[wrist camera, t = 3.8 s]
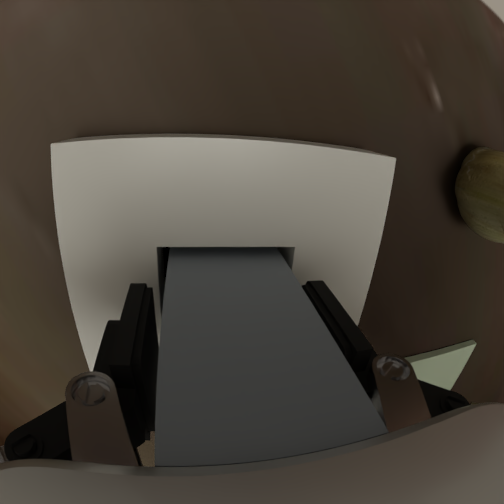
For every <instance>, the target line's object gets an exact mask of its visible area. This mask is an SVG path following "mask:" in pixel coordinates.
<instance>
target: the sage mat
mask: <svg viewBox="0 0 504 504" xmlns="http://www.w3.org/2000/svg"><path fill="white" fill-rule="evenodd" d="M476 344H477V343H476V342H475V341H474V340H473V339H472V340H469V341H466V342H463V343H459V344H456V345H452V346H449V347H445V348H442V349H438V350H434V351H430V352H427V353H423V354H419V355H415V356H410V357H406V358H405V359H406V360H407V361H408V362H409V363H411V365H412V367H413V369H414V371H415V374H416V376H417V379H419V380H421V381H424V382H427V383H430V384H433V385H436V386H439V387H441V388H444V389H447V390H451V388H452V386H453V385H454V383H455V381H456V380H457V378H458V376H459V375H460V373H461V371H462V370H463V368H464V366H465V364H466V362H467V361H468V359H469V357H470V355H471V353H472V351H473V349H474V348H475V346H476Z"/></svg>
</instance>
